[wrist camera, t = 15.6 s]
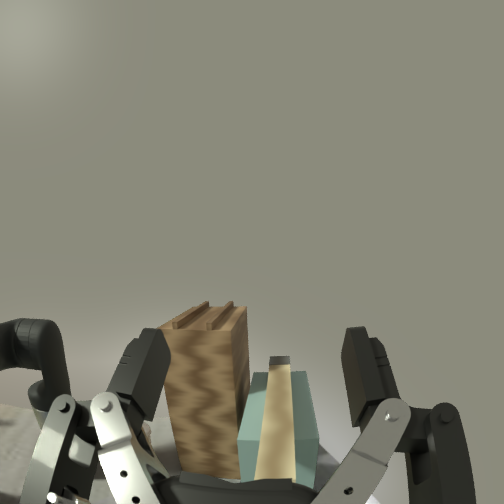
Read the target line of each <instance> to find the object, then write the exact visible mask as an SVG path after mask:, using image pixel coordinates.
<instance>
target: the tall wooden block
mask: <svg viewBox="0 0 504 504" xmlns="http://www.w3.org/2000/svg"><path fill="white" fill-rule="evenodd" d="M156 329H161V330H162V332H163V334H164V337H165V339H166V342H167V344H168V346H169V349H170V352H171V363H170V366H169V369H168V372H167V375H166V378H165V382H164V388H165V394H166V400H167V405H168V410H169V416H170V421H171V425H172V430H173V435H174V439H175V444H176V448H177V452H178V456H179V460H180V464H181V468H182V471H186V472H192V473H199V474H206V475H210V476H212V477H218V478H229V479H241V476H240V466H239V456H238V445H237V438H238V434H239V430H240V426H241V422H242V418H243V414H244V410H245V406H246V402H247V398H248V394H249V390H250V371H249V350H248V330H247V307H245V306H243V307H234V306H233V301H230V302H228V303H227V304H226V305H225V306H224V307H209V302H207V301H205V302H204V303H202V304H200V305H199V306H197V307H192V308H191V309H189V310H187V311H185V312H184V313H182V314H180V315H179V316H177V317H175V318H173V319H172V320H170V321H168V322H167V323H165V324H163V325H161V326H160V327H158V328H156Z"/></svg>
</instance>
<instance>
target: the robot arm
mask: <svg viewBox="0 0 504 504" xmlns="http://www.w3.org/2000/svg"><path fill="white" fill-rule="evenodd" d="M341 361H342V368H343V372H344V378H345V384H346V390H347V396H348V402H349V408H350V414H351V421H352V427H358V426H360V430H361V435H360V436H359V438H358V439H357V441H356V443H355V444H354V445H353V447H352V448H351V450H350V451H349V453H348V454H347V456H346V457H345V458H344V460H343V461H342V463H341V464H340V465H339V467H338V468H337V469H336V471H335V472H334V473H333V475H332V476H331V477H330V478H329V480H328V481H327V482H326V484H325V485H324V486H323V487H322V489H321V490H320V491H319V492H317V491H315V490H313V489H312V488H310V487H307V486H305V485H302V484H298V483H293V482H292V478H280V479H259V480H254V481H248V482H242V483H231V482H227V481H224V480H221V479H218V478H215V477H212V476H210V475H206V474H199V473H192V472H186V471H181V474H180V475H178V476H172V477H170V475H169V474H168V472H167V471H166V469H165V468H164V466H163V465H162V464H161V463H160V461H159V460H158V458H157V456H156V454H155V452H154V450H153V448H152V446H151V444H150V442H149V439H148V437H147V435H146V433H145V431H144V428H143V427H142V424H143V421H144V420H147V421H153V418H154V414H155V411H156V407H157V404H158V401H159V398H160V394H161V391H162V388H163V385H164V382H165V378H166V375H167V372H168V369H169V366H170V363H171V352H170V349H169V346H168V344H167V342H166V339H165V337H164V334H163V332H162V330H161V329H153V328H144V329H143V330H142V332H141V334H140V336H139V339H137V338H134V339H133V340H132V341H131V342H130V343H129V344H128V345H127V347H126V349H125V351H124V353H123V357H121V360H120V362H119V364H118V366H117V368H116V371H115V373H114V375H113V377H112V379H111V382H110V384H109V386H108V388H107V390H106V392H102V393H100V394H98V395H96V396H95V397H94V399H93V400H89V401H75V399H74V398H73V397H72V396H71V391H70V382H69V376H68V372H67V366H66V361H65V354H64V347H63V341H62V336H61V333H60V330H59V328H58V326H57V325H56V324H55V322H53V321H51V320H44V319H26V318H20V319H15V320H11V321H8V322H5V323H1V324H0V371H1V370H4V369H8V368H16V367H19V368H27V369H34V370H41V371H42V375H43V380H41V381H38V382H36V383H34V384H33V385H31V386H30V388H29V389H28V396H29V399H30V402H31V405H32V408H33V411H34V414H35V416H36V419H37V421H38V424H39V426H40V429H41V433H40V436H39V439H38V441H37V444H36V447H35V450H34V453H33V456H32V459H31V462H30V465H29V469H28V472H27V475H26V479H25V483H24V486H23V490H22V494H21V498H20V503H19V504H90V502H89V496H90V491H91V487H92V483H93V478H94V474H95V470H96V466H97V462H98V458H99V459H100V462H101V465H102V468H103V471H104V473H105V476H106V479H107V481H108V484H109V486H110V489H111V491H112V493H113V496H114V498H115V500H116V502H117V504H365V503H366V502H367V500H368V499H369V497H370V496H371V494H372V493H373V491H374V490H375V488H376V487H377V485H378V483H379V482H380V480H381V479H382V477H383V475H384V473H385V471H386V470H387V467H388V466H387V464H388V461H389V460H390V458H391V456H392V454H393V452H404V453H405V459H406V467H407V476H408V489H409V504H476V496H475V488H474V481H473V474H472V468H471V463H470V457H469V452H468V448H467V443H466V439H465V435H464V430H463V427H462V423H461V419H460V415H459V412H458V410H457V409H456V407H455V406H453V405H452V404H450V403H440V404H438V405H436V406H435V407H434V408H433V409H421V408H413V407H410V406H408V405H407V403H406V402H404V401H403V400H402V399H401V398H400V396H399V393H398V390H397V386H396V383H395V379H394V376H393V373H392V370H391V366H390V363H389V360H388V358H387V354H386V351H385V348H384V346H383V344H382V343H381V342H380V341H379V340H378V339H377V338H376V337H375V338H369V337H368V334H367V331H366V328H365V327H364V326H363V327H351V328H347V329H346V334H345V338H344V343H343V347H342V352H341Z"/></svg>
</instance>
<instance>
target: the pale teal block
mask: <svg viewBox="0 0 504 504" xmlns="http://www.w3.org/2000/svg"><path fill="white" fill-rule="evenodd" d="M268 373H269V372H256V373H255V372H254V373H253V378H252V382H251V386H250V390H249V394H248V398H247V402H246V406H245V410H244V414H243V418H242V422H241V426H240V430H239V434H238V438H237V445H238V456H239V466H240V476H241V483H242V482H248V481H254V478H255V471H256V464H257V458H258V451H259V444H260V436H261V429H262V421H263V414H264V406H265V398H266V390H267V382H268ZM290 374H291V389H292V406H293V424H294V444H295V468H296V483H298V484H302V485H305V486H307V487H310V488H312V489H313V487H314V480H315V472H316V464H317V456H318V447H319V434H318V429H317V424H316V418H315V413H314V408H313V403H312V398H311V394H310V388H309V384H308V379H307V374H306V371H296V372H290Z"/></svg>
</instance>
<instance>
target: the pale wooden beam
mask: <svg viewBox="0 0 504 504" xmlns="http://www.w3.org/2000/svg"><path fill="white" fill-rule="evenodd" d="M280 478H292V482H293V483H296V468H295V444H294V424H293V406H292V389H291V374H290V357H289V356H274V357H270V362H269V373H268V382H267V390H266V398H265V406H264V414H263V421H262V429H261V436H260V444H259V451H258V458H257V464H256V471H255V478H254V480H259V479H280Z"/></svg>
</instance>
